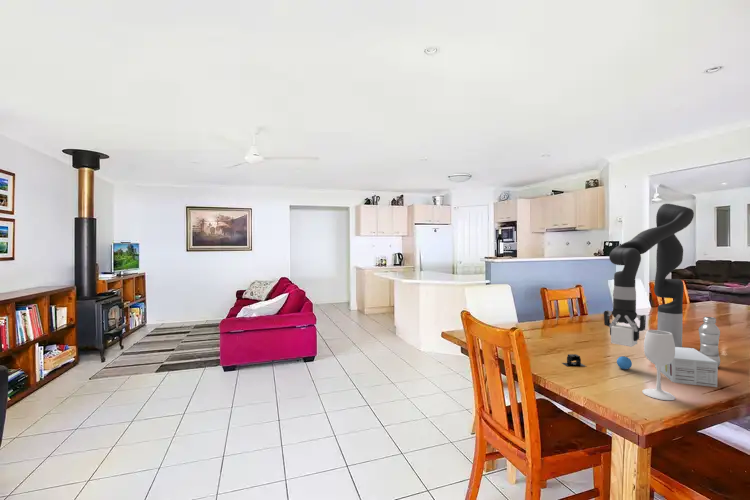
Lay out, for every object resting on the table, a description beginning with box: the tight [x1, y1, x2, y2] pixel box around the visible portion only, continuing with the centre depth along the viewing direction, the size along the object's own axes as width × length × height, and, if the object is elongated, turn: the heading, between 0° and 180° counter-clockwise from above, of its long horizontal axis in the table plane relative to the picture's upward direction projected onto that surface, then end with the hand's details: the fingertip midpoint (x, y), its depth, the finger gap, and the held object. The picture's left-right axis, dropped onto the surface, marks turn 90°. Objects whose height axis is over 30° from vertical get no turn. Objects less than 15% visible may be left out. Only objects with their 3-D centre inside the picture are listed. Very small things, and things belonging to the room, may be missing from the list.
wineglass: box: [641, 329, 677, 401], centre depth 119 cm, size 9×9×21 cm
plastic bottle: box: [698, 316, 721, 367], centre depth 146 cm, size 6×7×20 cm
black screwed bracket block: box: [561, 353, 587, 368], centre depth 149 cm, size 12×7×5 cm, turn 91°
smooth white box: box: [610, 323, 638, 348], centre depth 144 cm, size 7×7×7 cm
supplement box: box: [654, 346, 719, 388], centre depth 135 cm, size 17×13×9 cm
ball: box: [616, 356, 633, 370], centre depth 144 cm, size 5×5×5 cm
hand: (624, 338), depth 144 cm, fingers closed on smooth white box, 7 cm apart
